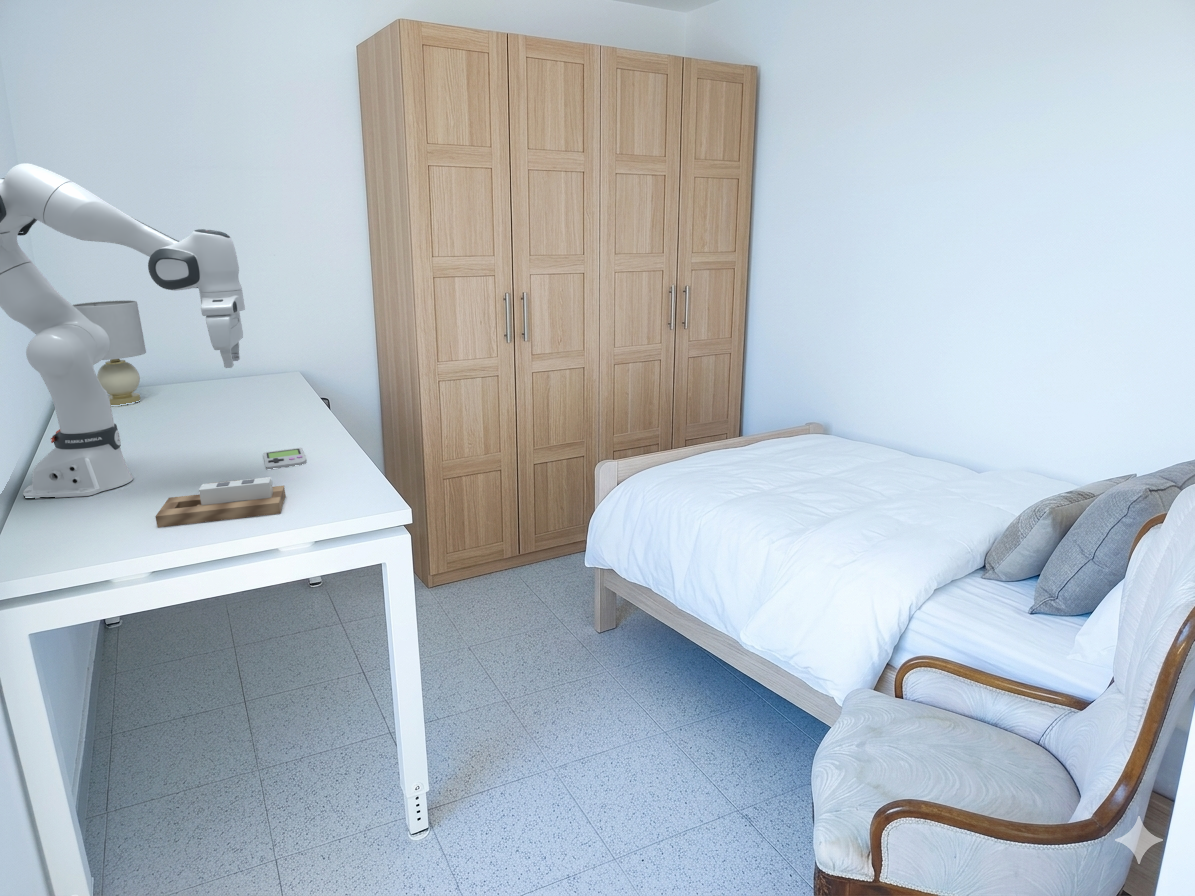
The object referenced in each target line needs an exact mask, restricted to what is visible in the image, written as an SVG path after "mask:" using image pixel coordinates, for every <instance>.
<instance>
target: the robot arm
mask: <svg viewBox="0 0 1195 896" xmlns="http://www.w3.org/2000/svg"><path fill="white" fill-rule="evenodd" d="M37 222H40V223H42V224H44V225H46V226H47V227H48V228H50V229H53V230H54V231H57V232H59V233H61V234H62V235H64V236H65V235H66V236H68V237H70V238H74V239H76V240H80V241H86V242H97V243H108V244H109V243H110V244H116V245H121V246H125V247H127V248H130V249H133V250H134V251H137V252H139V253H141V254H143V255H145V256H146V257H149V259H148V262H147V268H148V274H149V276H150V277H151V279H152V280H153V282H154V283H155V284H156V285H157V286H159V287H160V288H162V289H164V290H168V291H169V290H170V291H174V292H175V291H185V290H190V289H198V291H199V297H200V298H199V299H200V304H201V305H200V311H201V316H203V317H205V322H206V327H207V331H208V335H209V339H210V343H211V345H212V348H213V350H214V351H219V353H220V357H221V358H222V361H223V367H224V368H225V369H231V368H233V367H234V362H238V361H239V360H240V359H241V356H240V341H242V339H243V338H244V330H243V325H242V320H241V313H240V312H241V311H246V306H245V299H244V293H243V287H242V284H241V283H240V279H239V273H240V266H239V262H238V261H239V260H238V256H237V251H236V247H235V244H234V241H233V239H232V237H231V236H230V235H229V234H227V233H226V232H222V231H220V230H215V229H214V230H212V229H204V228H203V229H202V228H201V229H200V228H199V229H194V230H193V231H192V232H191V233H190V234H189V235H188V236H186V237H185V238H183V239H181V240H177V239H175V238H174V237H172V236H169V235H167V234H166V233H163V232H162V231H159V230H157V229H155V228H153V227H152V226H150V225H147V224H146V223H144V222H141V221H140V220H138V219H136V218H134V217H133V216H130V215H128V214H127V213H125V212H123V211H122V210H120V209H119V208H117V207H115V206H114V205H112V204H110V203H109V202H107V201H106V200H104V199H102V198H101V197H99V196H98V195H96V194H94V193H93V192H92V191H90V190H88V189H87V188H85V187H84V186H81V185H79V184H78V183H77V182H74V181H73V180H71V179H69V178H67V177H65V176H63V175H62V174H61V175H60V174H58V173H57V172H54V171H53V170H50V169H47V168H44V167H42V166H39V165H36V164H34V163H27V162H23V163H18V164H16V165H14V166H12V167H11V168H10V169H9V170H8V171H7V172H6V174H5V176H4V177H3V178H0V308H1V309H2V310H3V312H4V313H5V314H6V315H7V316H8V317H9V318H10V319H12V320H14V321H15V322H17V323H20V324H21V325H23V326H24V327H26V328H27V329H28V330H29V331H30V332H32V333H33V334H35V335H34V337H33V338H32V339H31V340H30V341H29V342H28V344H27V347H26V351H25V353H26V359H27V361H28V363H29V365H30V366H31V367H32V368H33V370H35V371H36V372H37V373H39V374H40V375H39V376H41V379H42V381H43V382H44V385H45V386H46V388H47V390H48V393H49V394H50V396H51V399H52V403H53V405H54V410H55V413H56V418H57V422H58V427H59V429H58V430H56V431H55V434H53V435H52V437H50V443H51V444H53V445H54V448H53V449H52V450H51V451H50V452H48V453H47V454H46V455H45V456H44V457H43V458H42V459H41V460H40V461H39V462H38V463H36V465H35V466H34V467H33V469H32V474H31V475H32V476H31V481H32V483H31V484H30V485H28V486H27V487H26V488H25V489H24V490H23V493H22V496H23V495H24V496H25V497H55V498H68V497H69V498H73V497H89V496H92V495H93V496H94V495H97V494H99V493H101V492H104V491H108V490H112V489H115V488H119V487H121V486H124V485H126V484H128V483H130V482H132V480H134V476H133V474H132V473H131V471H130V469H129V467H128V465H127V462H126V460H125V458H124V454H123V451H122V448H121V446H122V445H121V444H122V443H121V442H122V441H121V436H120V432H119V430H118V426H117V423H115V421H114V416H113V411H112V407H111V405H110V400H109V396H110V395H109V394H108V393H107V391H106V390H105V389H104V388H103V387H102V386H101V384H100V382H99V380H98V378H97V373H96V371H95V369H94V367H95V366H94V365H97V364H98V363H100V362H101V361H103V360H102V359H103V358H104V356H105V355H106V353H107V352H108V350H109V346H110V341H109V337H108V335H107V333H106V332H105V330H104V329H103V328H101V327H100V326H98V325H97V324H95V323H93V322H91V321H90V320H89V319H88V318H86V317H85V316H84V315H83V314H82V313H81V312H80V311H79V310H77V309H76V308H75V307H74V306H73V305H74V304H72V303H71V302H69V301H68V300H67V299H66V298H65V297H64V296H63V295H61V294H60V293H59V292H58V290H56V289H55V287H54V286H53V285H52V284H51V282H50V281H48V279H47V278H46V277H45V275H44V274H43V273H42V272H41V271H40V270H39V268H38V267H37V266H36V264H35V263H33V261H32V260H31V259H30V258H29V257H28V255H27V254H26V253H25V252H24V251H23V249H22V248H21V246H20V245H19V243H18V236H26V235H27V234H28V233H29V232H30V229H31V228H32V227H33V226H34V224H35V223H37Z"/></svg>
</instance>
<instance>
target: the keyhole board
mask: <svg viewBox="0 0 1195 896" xmlns="http://www.w3.org/2000/svg"><path fill="white" fill-rule="evenodd" d="M272 487H273V494H272V497H271V498H264V499H255V500H246V501H236V502H227V503H218V504H209V505H201V499H200V494H190V495H181V496H171V497H170V496H169V497H167V500H166V501H165V503H164V504H163V505H162V506H161V508H160V509H159V511H158V512H157V514H156V515H155V516H154V517H155V521H156V527H157V528H166V527H167V528H168V527H175V526H181V525H182V526H183V525H185V526H186V525H192V524H201V523H202V524H203V523H209V522H219V521H228V520H229V521H230V520H235V519H244V518H245V519H246V518H252V517H253V518H254V517H263V516H271V515H280V514H281V513H282V509H283V506H284V503H285V499H286V495H287V494H286V489H285V485H275V486H272Z"/></svg>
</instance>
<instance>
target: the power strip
mask: <svg viewBox="0 0 1195 896" xmlns="http://www.w3.org/2000/svg"><path fill="white" fill-rule="evenodd" d="M237 480H238V481H234V480H227V481H228V482H225V481H218V483H215V482H208V483H209V484H207V483H202V484H201V486H200V487H199V489H198V493H199V494H200V499H201V505H209V504H218V503H227V502H236V501H246V500H255V499H264V498H271V497H272V494H273V487H274V486H273V482H272V476H268V477H267V476H266V477H258V478H251V479H250V478H249V479H237Z"/></svg>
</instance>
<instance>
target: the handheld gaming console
mask: <svg viewBox="0 0 1195 896" xmlns="http://www.w3.org/2000/svg"><path fill="white" fill-rule="evenodd" d="M304 451H305V450H304V448H303V447H295V448H288V449H287V448H286V449H281V450H280V449H279V450H273V451H272V450H271V451H264V452H263V453H262V455H263V460H264V465H265V469H266V470H267V469H271V470H274V469H273V468H278V469H282V468H281V467H285V468H290V467H289V466H292V467H296V466H295V465H299V466H303V465H305V464H306V463H307V462H306V461H307V457H306V454H305V452H304ZM302 464H303V465H302Z"/></svg>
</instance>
